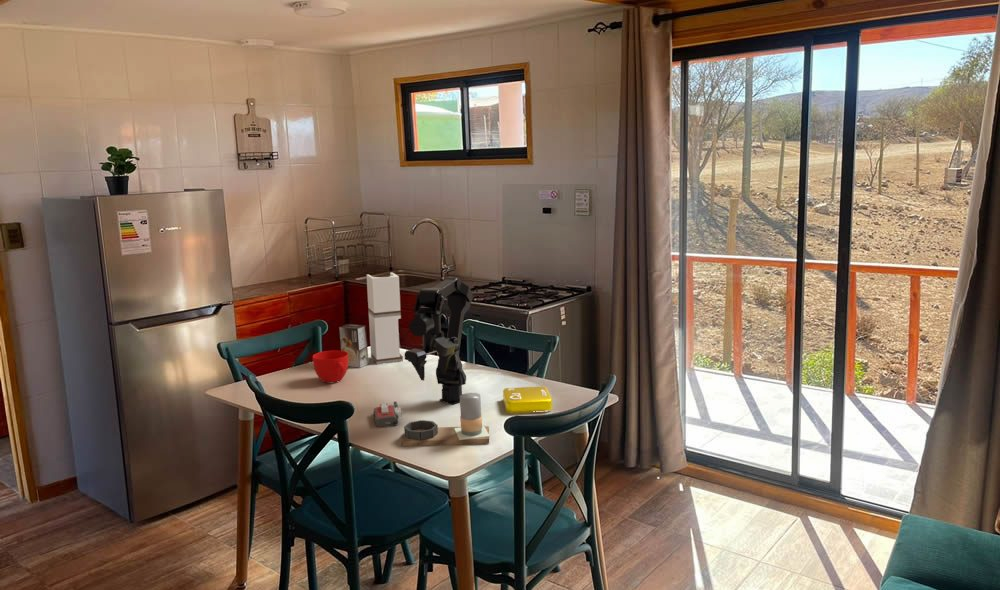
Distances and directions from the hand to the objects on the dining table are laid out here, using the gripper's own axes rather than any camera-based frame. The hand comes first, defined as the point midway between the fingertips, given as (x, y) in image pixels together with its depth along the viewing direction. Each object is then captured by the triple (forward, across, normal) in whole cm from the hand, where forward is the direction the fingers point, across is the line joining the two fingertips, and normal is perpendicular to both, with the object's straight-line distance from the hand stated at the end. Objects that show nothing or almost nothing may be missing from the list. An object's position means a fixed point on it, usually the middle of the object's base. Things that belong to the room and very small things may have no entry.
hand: (433, 376), depth 233 cm
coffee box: (+13, +21, +68) cm, 72 cm away
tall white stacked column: (+13, +34, +64) cm, 74 cm away
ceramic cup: (+13, +2, +56) cm, 58 cm away
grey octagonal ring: (+12, -16, -11) cm, 23 cm away
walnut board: (+13, -11, -16) cm, 24 cm away
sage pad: (+12, -6, -22) cm, 26 cm away
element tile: (+14, +26, -17) cm, 34 cm away
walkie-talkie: (+14, -10, +12) cm, 20 cm away
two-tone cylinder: (+11, -6, -22) cm, 25 cm away
